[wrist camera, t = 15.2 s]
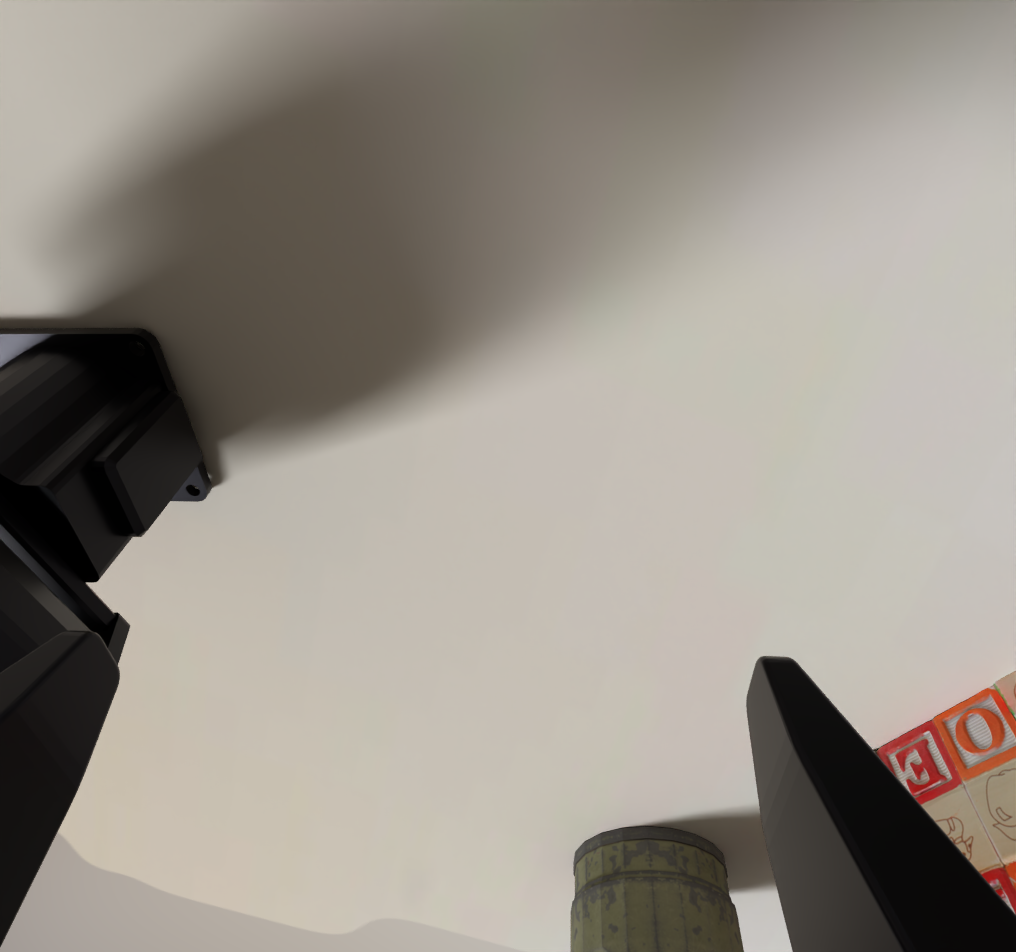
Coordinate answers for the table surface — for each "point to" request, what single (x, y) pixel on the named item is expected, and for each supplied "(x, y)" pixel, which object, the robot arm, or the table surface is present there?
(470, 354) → the table surface
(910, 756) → the stack of blocks
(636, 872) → the thermos
